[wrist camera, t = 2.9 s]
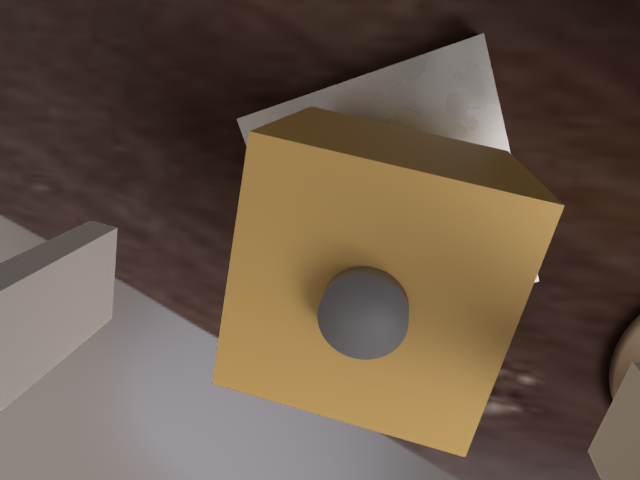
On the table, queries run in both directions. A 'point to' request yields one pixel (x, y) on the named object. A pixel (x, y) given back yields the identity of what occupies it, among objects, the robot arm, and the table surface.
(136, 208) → the table surface
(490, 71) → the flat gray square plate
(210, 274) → the table surface
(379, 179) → the yellow knobbed cube
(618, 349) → the cork pad
